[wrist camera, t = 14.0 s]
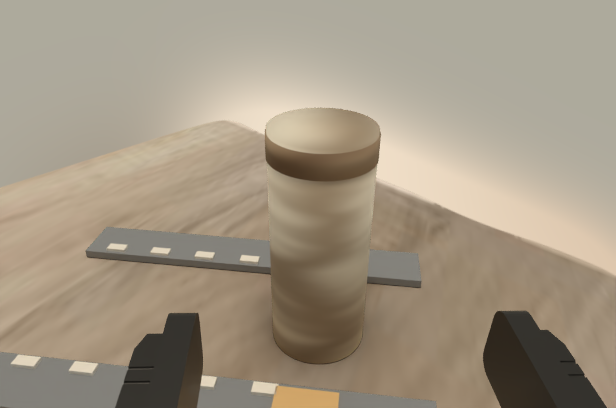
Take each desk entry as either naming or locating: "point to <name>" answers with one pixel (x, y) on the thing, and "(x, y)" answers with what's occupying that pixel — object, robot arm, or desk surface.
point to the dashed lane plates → (213, 390)
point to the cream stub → (320, 228)
